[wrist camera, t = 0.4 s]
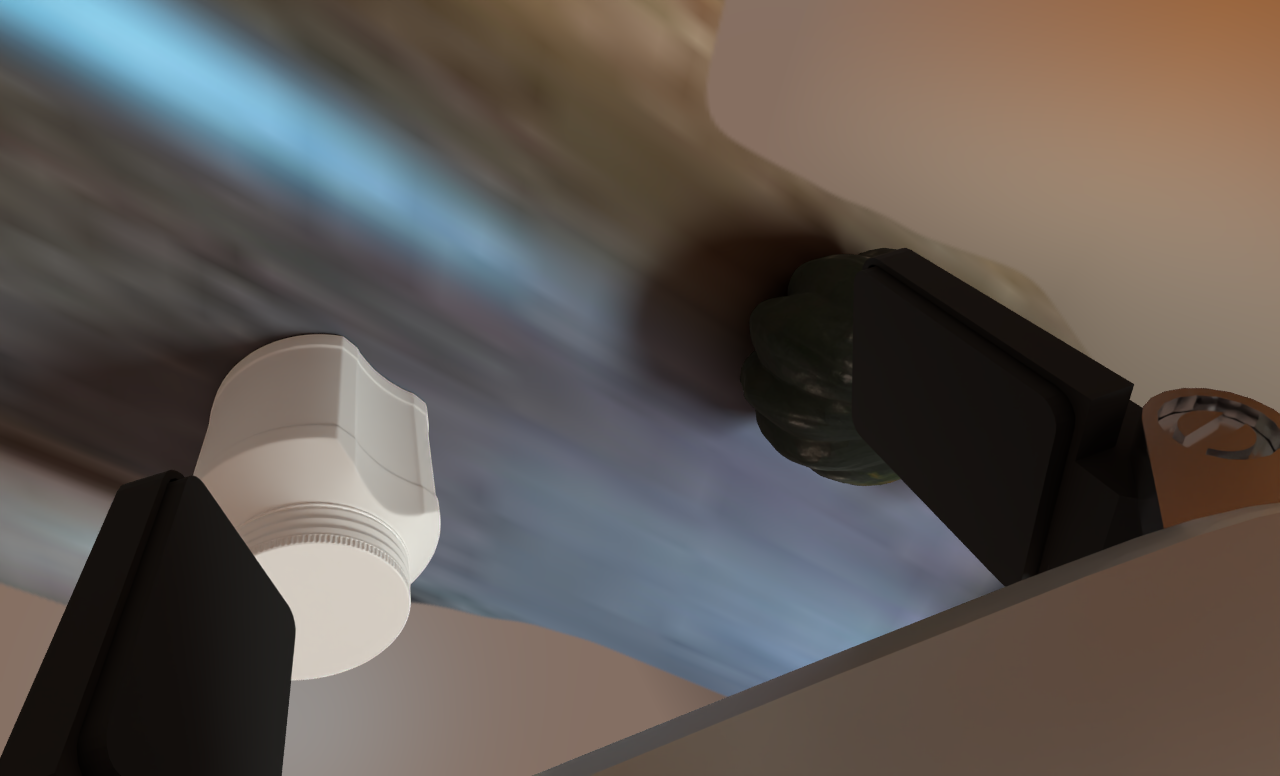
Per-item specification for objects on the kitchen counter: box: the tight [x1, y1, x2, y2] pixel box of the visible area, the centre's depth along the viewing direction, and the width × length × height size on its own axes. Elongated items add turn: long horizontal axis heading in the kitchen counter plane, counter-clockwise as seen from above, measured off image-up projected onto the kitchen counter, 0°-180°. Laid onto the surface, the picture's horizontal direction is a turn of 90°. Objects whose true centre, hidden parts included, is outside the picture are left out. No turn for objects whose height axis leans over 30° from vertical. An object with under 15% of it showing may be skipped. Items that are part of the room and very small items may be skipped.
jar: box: [193, 334, 440, 680], centre depth 36 cm, size 12×10×15 cm
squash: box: [740, 248, 901, 486], centre depth 45 cm, size 14×15×15 cm
